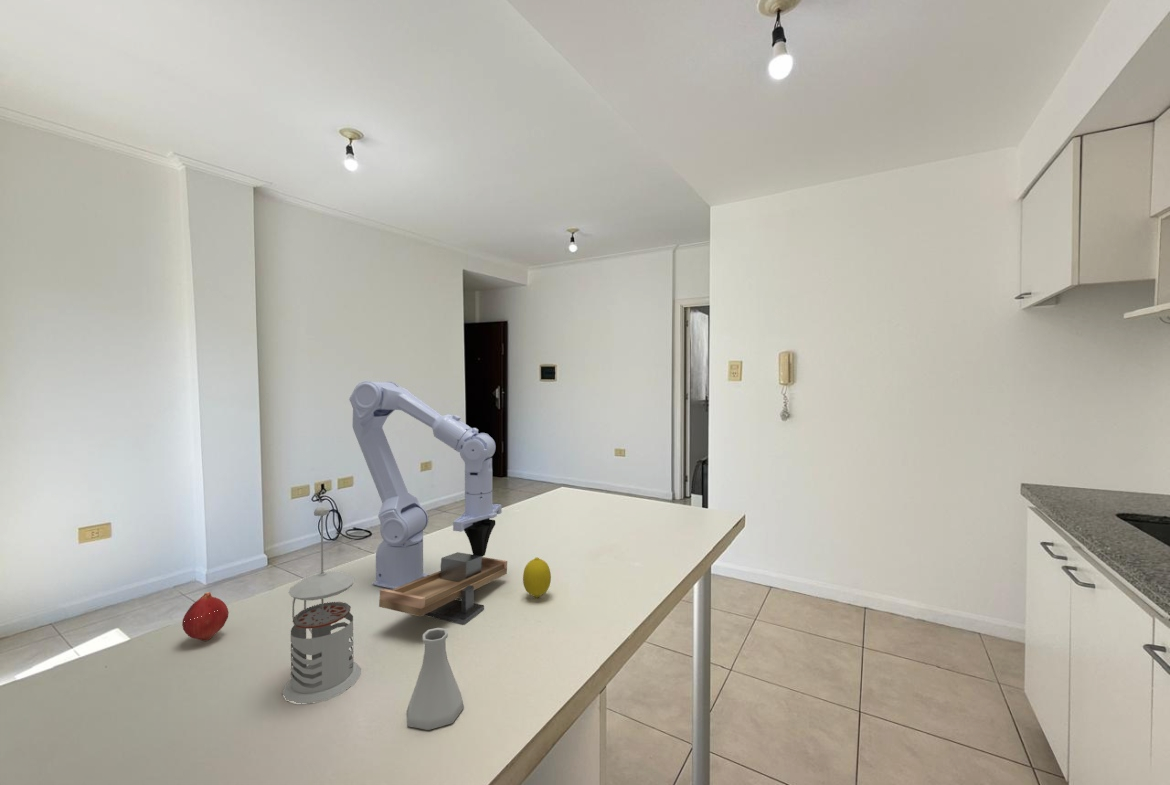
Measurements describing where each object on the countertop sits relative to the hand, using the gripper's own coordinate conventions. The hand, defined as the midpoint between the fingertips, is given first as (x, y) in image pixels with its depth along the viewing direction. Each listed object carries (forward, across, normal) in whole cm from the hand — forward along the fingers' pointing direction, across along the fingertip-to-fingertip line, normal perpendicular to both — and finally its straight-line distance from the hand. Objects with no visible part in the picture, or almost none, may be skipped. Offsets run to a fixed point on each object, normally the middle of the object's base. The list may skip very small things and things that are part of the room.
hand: (479, 555), depth 95 cm
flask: (+7, -33, -17) cm, 38 cm away
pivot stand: (+6, -11, 0) cm, 13 cm away
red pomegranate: (+7, -34, +30) cm, 46 cm away
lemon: (+7, 0, -14) cm, 15 cm away
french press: (+7, -34, +3) cm, 35 cm away
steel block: (+2, -6, 0) cm, 7 cm away
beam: (+4, -9, 0) cm, 10 cm away
